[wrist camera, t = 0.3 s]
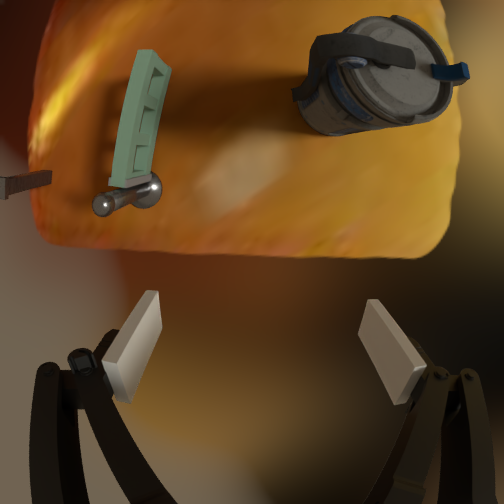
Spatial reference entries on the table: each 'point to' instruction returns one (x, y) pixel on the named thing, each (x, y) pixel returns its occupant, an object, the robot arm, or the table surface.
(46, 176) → the post
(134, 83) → the gate
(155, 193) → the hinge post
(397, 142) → the table surface
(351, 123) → the beverage bottle
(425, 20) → the table surface
